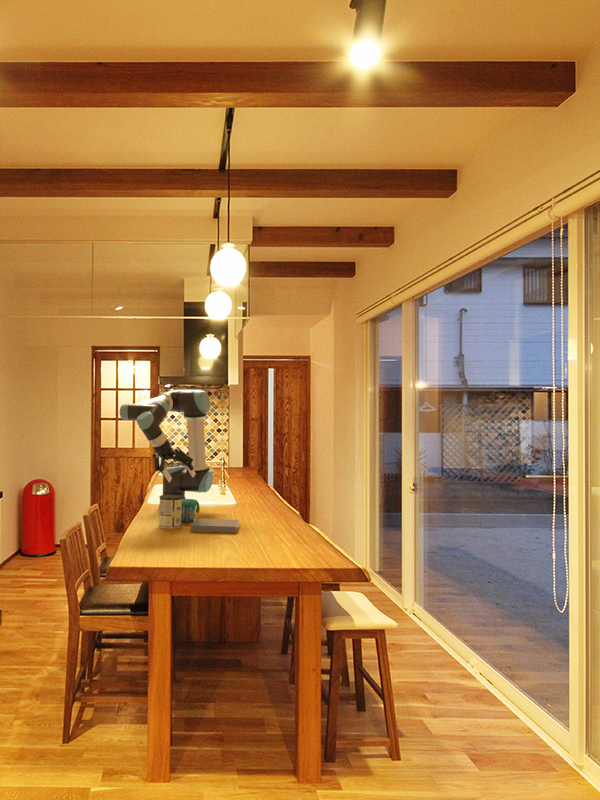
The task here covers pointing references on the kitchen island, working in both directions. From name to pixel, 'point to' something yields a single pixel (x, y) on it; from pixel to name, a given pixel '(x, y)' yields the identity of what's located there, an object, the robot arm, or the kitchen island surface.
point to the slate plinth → (215, 525)
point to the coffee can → (170, 511)
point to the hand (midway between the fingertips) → (182, 477)
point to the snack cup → (189, 509)
